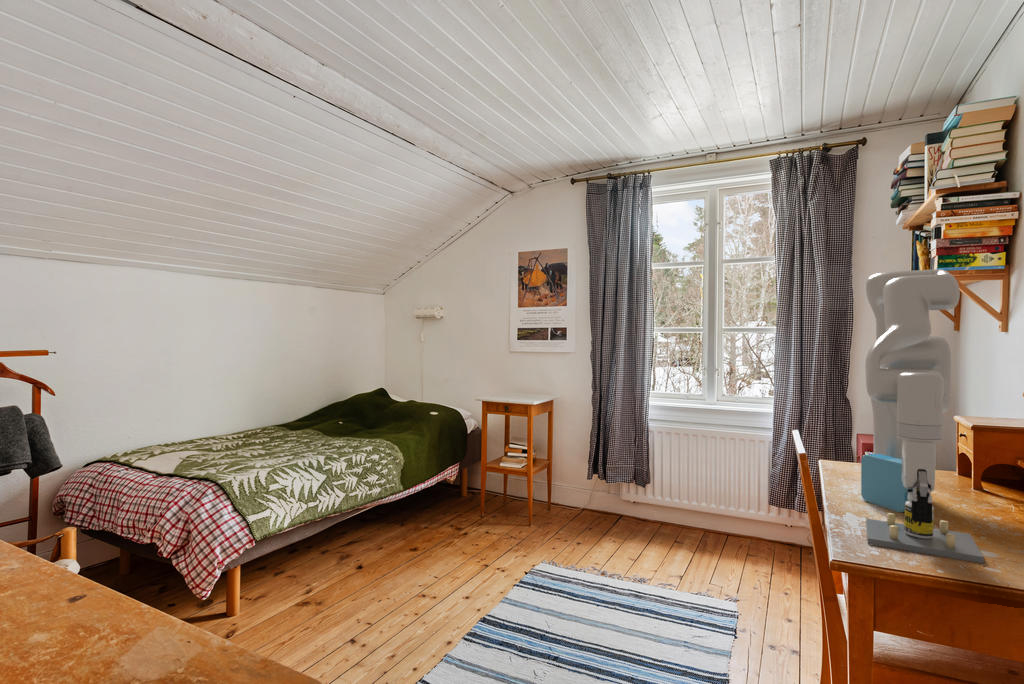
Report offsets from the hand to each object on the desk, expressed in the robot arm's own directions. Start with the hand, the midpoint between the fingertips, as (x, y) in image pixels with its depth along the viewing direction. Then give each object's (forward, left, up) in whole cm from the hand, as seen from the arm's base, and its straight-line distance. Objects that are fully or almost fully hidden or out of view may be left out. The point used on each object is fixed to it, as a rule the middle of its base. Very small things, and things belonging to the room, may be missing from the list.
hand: (919, 515), depth 111 cm
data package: (-26, -4, -6) cm, 26 cm away
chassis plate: (0, 0, -5) cm, 5 cm away
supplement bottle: (0, 0, -4) cm, 4 cm away
